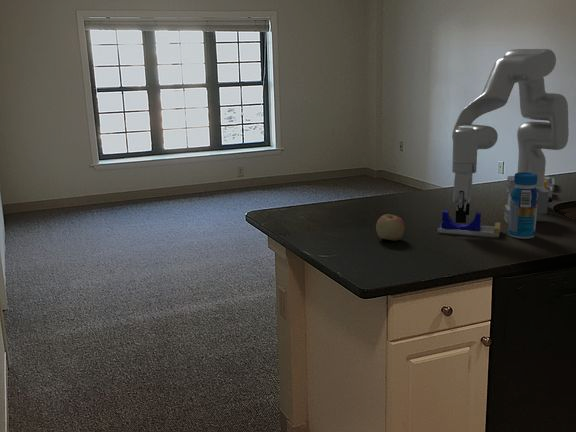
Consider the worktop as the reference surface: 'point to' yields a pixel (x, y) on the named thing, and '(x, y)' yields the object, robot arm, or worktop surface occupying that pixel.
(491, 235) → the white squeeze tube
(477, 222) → the blue plastic bracket
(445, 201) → the worktop surface
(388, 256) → the worktop surface
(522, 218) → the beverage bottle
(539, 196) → the circuit breaker
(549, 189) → the clamp tray
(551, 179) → the cup tray
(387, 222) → the apple
